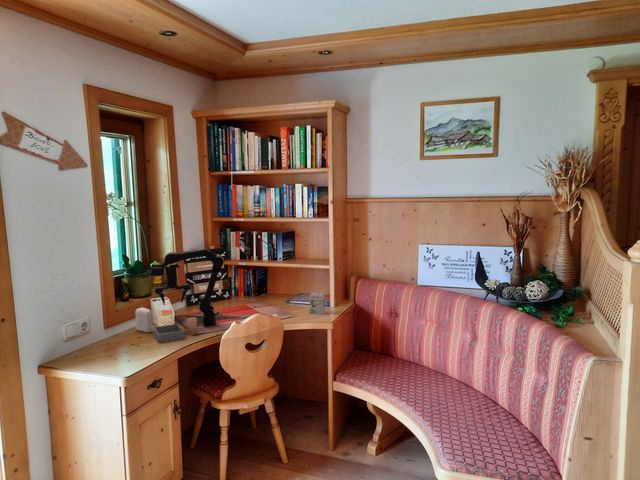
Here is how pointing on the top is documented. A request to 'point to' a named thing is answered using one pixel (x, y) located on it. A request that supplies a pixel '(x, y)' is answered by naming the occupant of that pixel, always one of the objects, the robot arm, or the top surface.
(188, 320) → the terracotta cylinder
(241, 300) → the top surface
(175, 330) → the bin
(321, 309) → the ink box
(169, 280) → the robot arm
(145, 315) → the photo printer
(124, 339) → the top surface
